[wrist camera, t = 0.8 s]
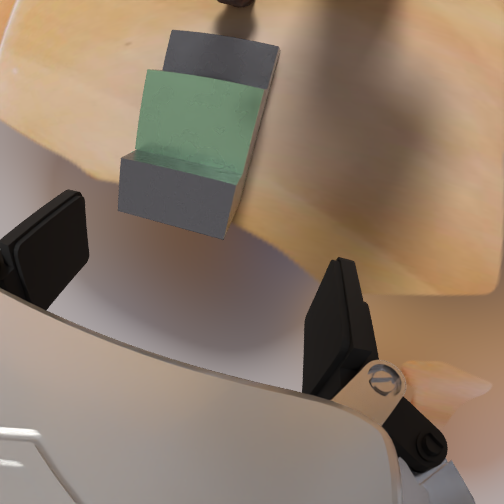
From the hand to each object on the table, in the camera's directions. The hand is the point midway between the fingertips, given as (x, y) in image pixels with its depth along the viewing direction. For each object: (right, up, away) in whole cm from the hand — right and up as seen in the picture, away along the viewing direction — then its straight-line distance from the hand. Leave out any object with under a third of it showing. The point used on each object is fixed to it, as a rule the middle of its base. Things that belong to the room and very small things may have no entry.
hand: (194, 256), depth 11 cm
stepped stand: (-3, +16, +24) cm, 29 cm away
